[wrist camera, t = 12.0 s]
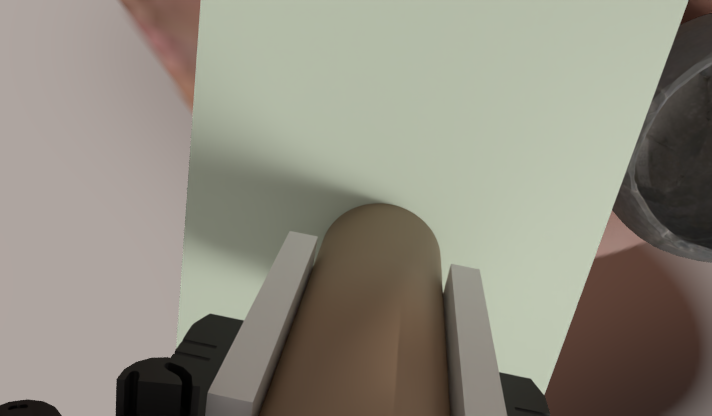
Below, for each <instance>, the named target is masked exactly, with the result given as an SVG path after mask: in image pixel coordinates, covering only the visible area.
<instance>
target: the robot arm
mask: <svg viewBox="0 0 712 416" xmlns="http://www.w3.org/2000/svg"><path fill="white" fill-rule="evenodd" d="M317 239H318V236H313V235H308V234H303V233H298V232H293V231H290V232H289V234H288V235H287V237H286V239H285V241H284V243H283V245H282V247H281V249H280V251H279V253H278V255H277V257H276V259H275V261H274V263H273V265H272V267H271V269H270V271H269V273H268V275H267V277H266V279H265V281H264V283H263V285H262V287H261V289H260V290H259V292H258V294H257V296H256V298H255V300H254V302H253V304H252V306H251V308H250V310H249V312H248V314H247V316H246V318H245V320H239V319H234V318H230V317H225V316H220V315H215V314H208V315H206V316H205V317H203V318H202V319H200V320H198V321H197V322H195V323H194V324H192V326H191V327H190V329H189V330H188V332H187V333H186V335H185V336H184V338H183V341H182V342H181V343H180V344H179V346H178V347H177V349H176V351H175V354H173V355H172V357H171V358H168V357H167V358H166V357H164V358H149V359H146V360H142V361H138V362H136V363H134V364H132V365H131V366H129V367H127V368H126V369H124V370H123V372H122V373H121V374H120V376H119V377H118V378H117V387H116V389H117V390H116V416H258V415H259V412H260V410H261V407H262V404H263V402H264V399H265V396H266V393H267V391H268V388H269V385H270V383H271V380H272V377H273V375H274V372H275V369H276V366H277V364H278V361H279V358H280V356H281V353H282V350H283V347H284V345H285V342H286V339H287V337H288V334H289V331H290V329H291V326H292V323H293V320H294V318H295V315H296V312H297V310H298V307H299V304H300V301H301V299H302V296H303V293H304V291H305V288H306V285H307V283H308V280H309V277H310V274H311V272H312V269H313V264H314V258H315V252H316V246H317ZM443 302H444V318H445V334H446V351H447V367H448V384H449V400H450V416H550V412H549V409H548V405H547V402H546V398H545V396H544V395H543V393H542V392H541V391H540V389H539V388H538V387H537V386H536V384H535V383H534V382H533V381H532V379H530V378H525V377H520V376H516V375H511V374H506V373H501V372H499V370H498V365H497V359H496V354H495V349H494V343H493V338H492V333H491V327H490V322H489V317H488V311H487V306H486V301H485V295H484V290H483V285H482V280H481V274H480V269H475V268H470V267H465V266H460V265H455V264H451V265H450V269H449V273H448V277H447V281H446V284H445V288H444V292H443ZM0 416H61V414H60V413H59V412H58V410H57V409H56V408H55V407H54V406H52V405H50V404H48V403H45V402H43V401H35V400H20V401H13V402H8V403H5V404H3V405H0Z"/></svg>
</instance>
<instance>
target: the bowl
mask: <svg viewBox="0 0 712 416" xmlns="http://www.w3.org/2000/svg"><path fill="white" fill-rule="evenodd" d="M612 210H613V212H614V213H615V214H616V215H617V216H618V218H619V219H620V220H621V221H622V222H623V223H624V224H625V225H626V226H627V227H628V228H629V229H630V230H631V231H633V232H634V233H635V234H636V235H637V236H639V237H640V238H641V239H643V240H645V241H646V242H648V243H650V244H651V245H653V246H654V247H657V248H659V249H661V250H663V251H666V252H669V253H671V254H674V255H677V256H680V257H685V258H688V259H693V260H697V261H703V262H712V13H710V14H707V15H704V16H701V17H698V18H695V19H693V20H690V21H688V22H686V23H683V24H681V25H680V26H679V28H678V31H677V33H676V36H675V39H674V41H673V44H672V47H671V50H670V52H669V55H668V58H667V61H666V63H665V66H664V69H663V72H662V74H661V77H660V80H659V82H658V85H657V88H656V91H655V93H654V96H653V99H652V102H651V104H650V107H649V110H648V113H647V115H646V118H645V121H644V123H643V126H642V129H641V132H640V134H639V137H638V140H637V143H636V145H635V148H634V151H633V154H632V156H631V159H630V162H629V164H628V167H627V170H626V173H625V175H624V178H623V181H622V184H621V186H620V189H619V192H618V195H617V197H616V200H615V203H614V205H613V208H612Z"/></svg>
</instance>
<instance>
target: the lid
mask: <svg viewBox="0 0 712 416" xmlns="http://www.w3.org/2000/svg"><path fill="white" fill-rule="evenodd" d="M687 3H688V0H201V5H200V19H199V33H198V47H197V61H196V75H195V90H194V104H193V118H192V132H191V146H190V160H189V175H188V188H187V203H186V217H185V232H184V245H183V259H182V273H181V287H180V302H179V315H178V330H177V344H176V349H177V347H178V346H179V344H180V343H181V342H182V341H183V338H184V336H185V335H186V333H187V332H188V330H189V329H190V327H191V326H192V324H194V323H195V322H197V321H198V320H200V319H202V318H203V317H205V316H206V315H208V314H215V315H220V316H225V317H230V318H234V319H239V320H245V318H246V316H247V314H248V312H249V310H250V308H251V306H252V304H253V302H254V300H255V298H256V296H257V294H258V292H259V290H260V289H261V287H262V285H263V283H264V281H265V279H266V277H267V275H268V273H269V271H270V269H271V267H272V265H273V263H274V261H275V259H276V257H277V255H278V253H279V251H280V249H281V247H282V245H283V243H284V241H285V239H286V237H287V235H288V234H289V232H290V231H293V232H298V233H303V234H308V235H313V236H318V239H317V246H316V252H315V258H314V264H313V269H312V272H311V274H310V277H309V280H308V283H307V285H306V288H305V291H304V293H303V296H302V299H301V301H300V304H299V307H298V310H297V312H296V315H295V318H294V320H293V323H292V326H291V329H290V331H289V334H288V337H287V339H286V342H285V345H284V347H283V350H282V353H281V356H280V358H279V361H278V364H277V366H276V369H275V372H274V375H273V377H272V380H271V383H270V385H269V388H268V391H267V393H266V396H265V399H264V402H263V404H262V407H261V410H260V412H259V415H258V416H450V400H449V384H448V367H447V351H446V334H445V318H444V302H443V292H444V288H445V284H446V281H447V277H448V273H449V269H450V265H451V264H455V265H460V266H465V267H470V268H475V269H480V274H481V280H482V285H483V290H484V295H485V301H486V306H487V311H488V317H489V322H490V327H491V333H492V338H493V343H494V349H495V354H496V359H497V365H498V370H499V372H501V373H506V374H511V375H516V376H520V377H525V378H530V379H532V381H533V382H534V383H535V384H536V386H537V387H538V388H539V389H540V391H541V392H542V393H543V395H544V394H545V391H546V389H547V386H548V383H549V380H550V378H551V375H552V372H553V369H554V367H555V364H556V361H557V359H558V356H559V353H560V350H561V348H562V345H563V342H564V339H565V336H566V334H567V331H568V328H569V326H570V323H571V320H572V318H573V315H574V312H575V309H576V307H577V304H578V301H579V298H580V296H581V293H582V290H583V287H584V285H585V282H586V279H587V276H588V274H589V271H590V268H591V266H592V263H593V260H594V257H595V255H596V252H597V249H598V246H599V244H600V241H601V238H602V236H603V233H604V230H605V227H606V225H607V222H608V219H609V216H610V214H611V211H612V208H613V205H614V203H615V200H616V197H617V195H618V192H619V189H620V186H621V184H622V181H623V178H624V175H625V173H626V170H627V167H628V164H629V162H630V159H631V156H632V154H633V151H634V148H635V145H636V143H637V140H638V137H639V134H640V132H641V129H642V126H643V123H644V121H645V118H646V115H647V113H648V110H649V107H650V104H651V102H652V99H653V96H654V93H655V91H656V88H657V85H658V82H659V80H660V77H661V74H662V72H663V69H664V66H665V63H666V61H667V58H668V55H669V52H670V50H671V47H672V44H673V41H674V39H675V36H676V33H677V31H678V28H679V25H680V22H681V20H682V17H683V14H684V11H685V9H686V6H687Z"/></svg>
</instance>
